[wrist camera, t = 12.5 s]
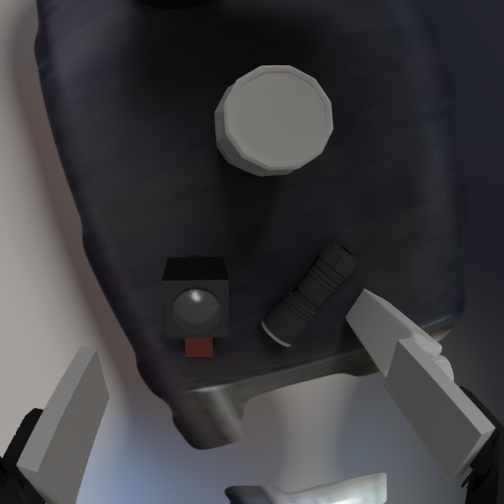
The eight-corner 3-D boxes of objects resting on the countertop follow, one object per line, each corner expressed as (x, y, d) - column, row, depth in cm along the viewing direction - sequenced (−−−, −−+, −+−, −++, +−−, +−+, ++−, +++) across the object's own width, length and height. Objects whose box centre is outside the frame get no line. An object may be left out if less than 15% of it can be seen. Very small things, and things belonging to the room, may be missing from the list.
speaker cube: (168, 257, 40) (161, 282, 32) (223, 257, 41) (229, 281, 33) (171, 307, 42) (166, 340, 34) (222, 306, 43) (229, 339, 35)
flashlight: (326, 233, 44) (341, 243, 39) (352, 255, 45) (368, 267, 40) (258, 315, 46) (264, 334, 41) (286, 333, 48) (294, 352, 42)
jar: (203, 112, 37) (194, 76, 20) (276, 89, 37) (318, 44, 20) (229, 182, 40) (239, 199, 23) (300, 158, 40) (358, 159, 23)
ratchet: (174, 255, 42) (167, 271, 36) (219, 255, 43) (219, 271, 37) (180, 349, 46) (176, 375, 40) (219, 349, 47) (220, 375, 41)
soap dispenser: (391, 300, 48) (474, 376, 27) (369, 332, 49) (439, 419, 28) (363, 284, 47) (447, 364, 26) (340, 319, 48) (408, 413, 27)
